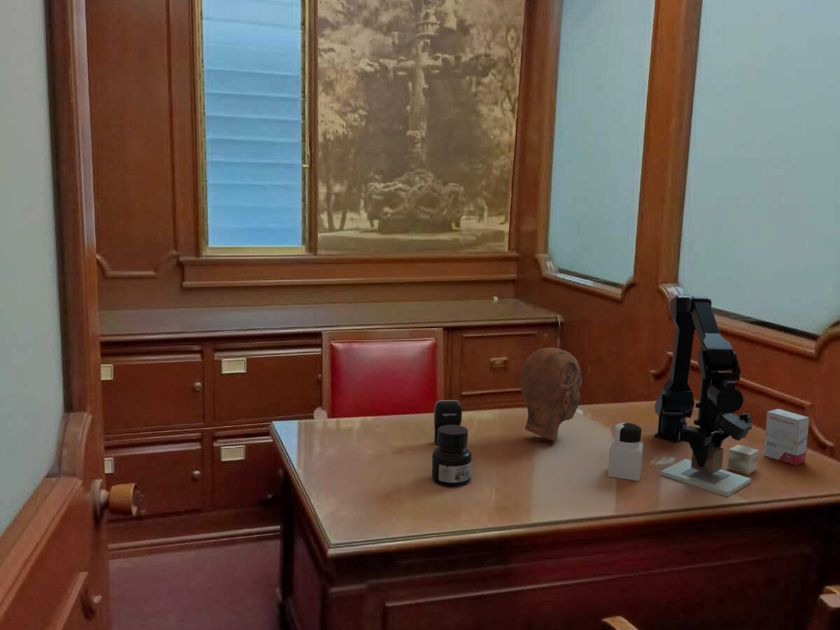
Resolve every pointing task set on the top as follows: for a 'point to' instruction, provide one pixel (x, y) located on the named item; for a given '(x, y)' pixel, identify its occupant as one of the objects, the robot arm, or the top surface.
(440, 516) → the top surface
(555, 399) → the head sculpture
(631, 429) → the medicine bottle
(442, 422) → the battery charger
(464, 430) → the ink bottle
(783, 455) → the ink box
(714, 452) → the walnut cube
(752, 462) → the maple cube
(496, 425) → the top surface
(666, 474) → the board
